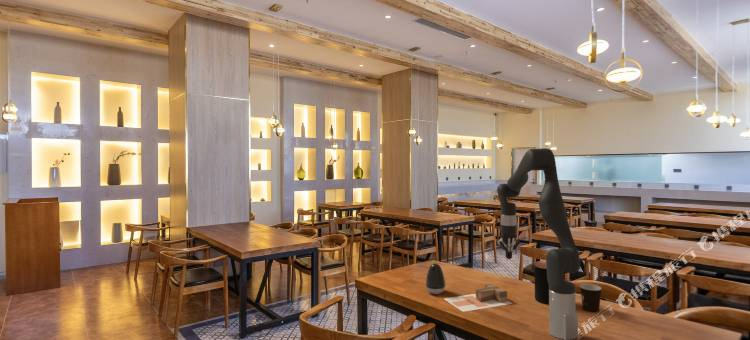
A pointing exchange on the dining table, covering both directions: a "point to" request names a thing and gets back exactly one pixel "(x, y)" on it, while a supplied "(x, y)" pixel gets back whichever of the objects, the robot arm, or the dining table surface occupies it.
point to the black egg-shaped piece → (435, 279)
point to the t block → (491, 294)
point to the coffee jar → (541, 282)
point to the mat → (472, 303)
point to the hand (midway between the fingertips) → (508, 258)
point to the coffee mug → (590, 297)
